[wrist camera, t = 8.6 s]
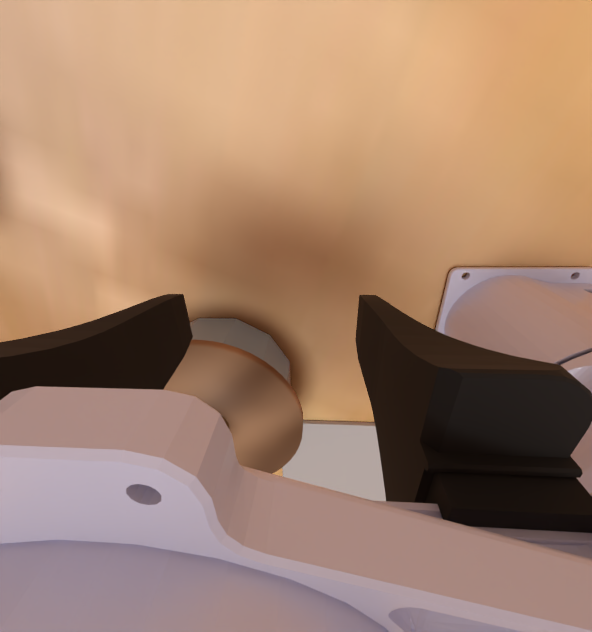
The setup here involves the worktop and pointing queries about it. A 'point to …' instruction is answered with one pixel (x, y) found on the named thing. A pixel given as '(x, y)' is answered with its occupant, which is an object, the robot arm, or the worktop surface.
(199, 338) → the bowl
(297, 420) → the lid
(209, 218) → the worktop surface
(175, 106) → the worktop surface
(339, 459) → the mat
